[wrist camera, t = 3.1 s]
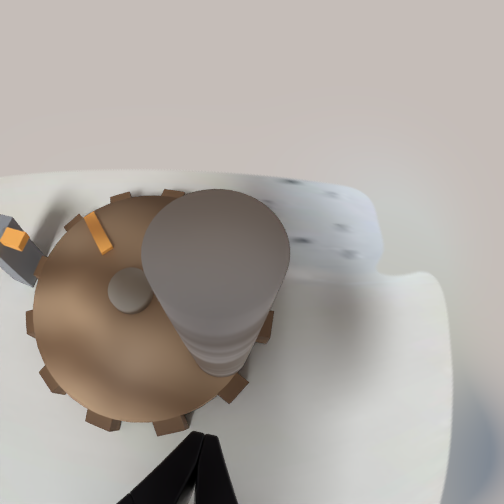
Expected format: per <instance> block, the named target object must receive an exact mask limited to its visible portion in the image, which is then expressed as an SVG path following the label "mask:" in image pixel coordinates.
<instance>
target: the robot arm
mask: <svg viewBox="0 0 504 504" xmlns="http://www.w3.org/2000/svg"><path fill="white" fill-rule="evenodd" d="M194 487H195V493H194V504H238V502H237V499H236V496H235V493H234V490H233V486H232V483H231V480H230V477H229V473H228V470H227V467H226V463H225V460H224V457H223V453H222V449H221V446H220V442H219V439H218V437H217V436H215V435H210V434H206V435H205V434H204V433H201V432H196V431H192V432H191V433H190V434H189V435H188V436H187V437H186V438H185V439H184V440H183V441H182V442H181V443H180V444H179V445H178V446H177V447H176V448H175V449H174V450H173V451H172V452H171V453H170V454H169V455H168V456H167V457H166V458H165V459H164V460H163V461H162V462H161V463H160V464H159V465H158V466H157V467H156V468H155V469H154V470H153V471H152V472H151V473H150V474H149V475H148V476H147V477H146V478H145V479H144V480H143V481H142V482H140V483H139V484H138V485H137V486H136V487H135V488H134V489H133V490H132V491H131V492H130V493H128V494H127V495H126V496H125V497H124V498H123V499H122V500H120V501H119V502H118V503H117V504H188V503H189V500H190V498H191V495H192V493H193V490H194Z"/></svg>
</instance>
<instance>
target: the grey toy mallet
mask: <svg viewBox="0 0 504 504" xmlns="http://www.w3.org/2000/svg"><path fill="white" fill-rule="evenodd" d="M42 256H44V255H43V253H42V252H41V251H40V250H39V249H38V248H37V247H36V245H35V244H34V243H33V242H32V241H31V240H30V237H29V236H28V234H27V233H26V232H24V231H23V230H22V229H21V227H20V226H19V225H18V223H17V222H16V221H15V220H14V218H13V217H10V216H5V215H1V214H0V267H1V268H2V269H3V270H4V271H5V272H6V273H7V274H9V275H10V276H11V277H12V278H13V279H15V280H17V281H19V282H22V283H24V284H26V285H29V286H31V287H33V286H34V284H35V282H36V279H37V278H36V277H35V276H34V275H33V274H34V272H35V270H36V267H37V265H38V263H39V261H40V259H41V257H42Z"/></svg>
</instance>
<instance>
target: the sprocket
mask: <svg viewBox="0 0 504 504" xmlns="http://www.w3.org/2000/svg"><path fill="white" fill-rule="evenodd" d="M110 202H111V204H108V205H106V206H104V207H101V208H99V209H97V210H95V211H93V212H91V213H90V214H88V215H87V216H85V217H84V218H82V217H81V215H80V214H78V215H77V216H76V217H75V218H74V219H72V220H71V221H70V222H69V223H68V224H67V225H65V226H64V228H65V230H66V231H67V232H66V233H65V235H64V236H63V237H62V238H61V239H60V240H59V242H58V243H57V244H56V246H55V247H54V249H53V250H52V252H51V253H50V255H49V256H48V257H45V256H42V257H41V259H40V261H39V263H38V265H37V267H36V270H35V272H34V274H33V275H34V276H35V277H36V278H37V279H38V283H37V286H36V290H35V296H34V304H33V310H30V311H26V328H27V334H28V335H30V336H32V337H34V338H36V341H37V345H38V349H39V351H40V354H41V356H42V359H43V361H44V363H45V366H44V367H43V368H42V369H41V370H40V372H39V373H40V375H41V377H42V378H43V380H44V381H45V383H46V384H47V386H48V387H49V389H50V390H51V392H52V393H57V394H62V395H65V394H66V393H67V394H68V395H69V396H70V397H71V398H73V399H74V400H75V401H77V402H78V403H80V404H81V405H82V406H84V407H86V408H87V409H88V410H87V415H86V420H85V421H86V422H88V423H90V424H93V425H95V426H97V427H99V428H102V429H104V430H107V431H109V432H111V431H117V430H119V429H120V424H121V421H126V422H152V423H153V425H154V428H155V431H156V434H157V436H161V435H166V434H171V433H175V432H180V431H184V430H186V429H188V428H189V426H188V423H187V420H186V418H185V415H184V414H187V413H189V412H191V411H193V410H196V409H198V408H200V407H202V406H203V405H205V404H206V403H207V402H209V401H210V400H212V399H213V398H215V397H216V396H217V395H219V396H220V397H221V398H222V399H223V400H225V401H226V402H227V403H228V404H230V403H231V402H232V401H233V400H234V399H235V398H236V396H237V395H238V394H239V393H240V392H241V391H242V390H243V389H244V388H245V386H246V385H247V384H248V383H249V382H248V381H247V380H246V379H244V378H243V377H242V376H241V375H239V374H238V371H239V370H240V369H241V368H242V367H243V365H244V364H245V362H246V360H247V357H248V355H249V353H250V351H251V349H252V347H253V345H254V343H255V342H258V343H264V344H266V343H267V342H268V340H269V339H270V335H271V328H272V322H273V315H274V311H270V308H271V306H272V304H273V302H274V300H275V297H276V295H277V293H278V291H279V288H280V286H281V284H282V282H283V279H284V277H285V275H286V272H287V269H288V265H289V260H290V246H289V240H288V236H287V233H286V231H285V229H284V227H283V225H282V223H281V222H280V220H279V219H278V217H277V216H276V215H275V214H274V213H273V212H272V211H271V210H270V209H269V208H268V207H267V206H266V205H264V204H263V203H262V202H260V201H258V200H257V199H255V198H253V197H251V196H248V195H246V194H243V193H240V192H236V191H232V190H224V189H208V190H201V191H196V192H192V193H189V194H186V195H185V192H181V191H174V190H167V189H164V191H163V193H162V195H161V196H139V197H131V194H130V192H126V193H123V194H119V195H116V196H112V197H110Z"/></svg>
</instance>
